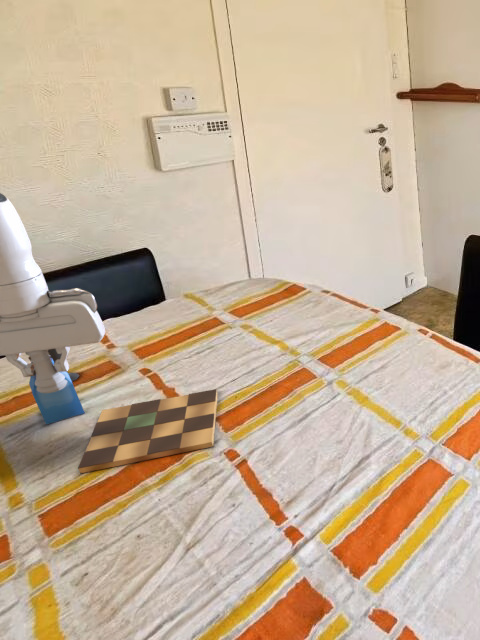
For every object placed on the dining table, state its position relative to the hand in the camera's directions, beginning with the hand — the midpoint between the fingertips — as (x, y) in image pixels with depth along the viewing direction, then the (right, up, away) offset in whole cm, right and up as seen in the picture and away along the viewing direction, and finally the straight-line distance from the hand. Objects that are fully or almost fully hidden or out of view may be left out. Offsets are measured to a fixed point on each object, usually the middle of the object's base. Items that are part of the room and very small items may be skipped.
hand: (47, 373), depth 105 cm
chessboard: (+14, -10, +8) cm, 19 cm away
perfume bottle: (-7, -7, +14) cm, 18 cm away
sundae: (-16, -1, +26) cm, 31 cm away
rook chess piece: (0, -3, +1) cm, 3 cm away
